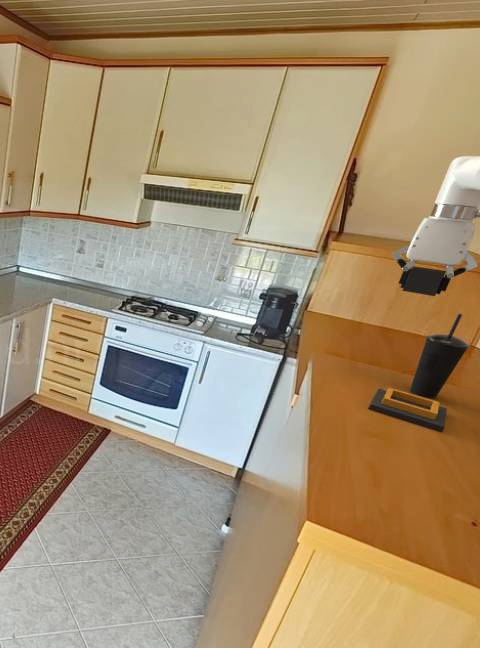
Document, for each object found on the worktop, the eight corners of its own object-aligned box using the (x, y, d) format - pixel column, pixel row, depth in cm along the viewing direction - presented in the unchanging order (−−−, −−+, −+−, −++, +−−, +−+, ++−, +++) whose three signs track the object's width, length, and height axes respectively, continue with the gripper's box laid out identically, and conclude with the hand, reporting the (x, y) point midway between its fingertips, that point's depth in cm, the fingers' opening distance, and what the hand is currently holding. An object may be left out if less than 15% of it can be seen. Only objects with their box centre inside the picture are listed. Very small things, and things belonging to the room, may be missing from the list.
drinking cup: (450, 404, 112) (491, 321, 105) (410, 396, 115) (448, 315, 108) (434, 391, 119) (472, 313, 112) (396, 384, 122) (431, 307, 114)
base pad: (441, 432, 97) (447, 420, 96) (368, 408, 105) (373, 397, 104) (444, 413, 107) (449, 402, 106) (376, 393, 115) (381, 382, 114)
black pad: (434, 296, 114) (444, 272, 112) (402, 290, 118) (411, 267, 116) (436, 293, 119) (446, 271, 117) (404, 288, 123) (413, 266, 121)
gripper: (504, 219, 109) (468, 297, 115) (405, 210, 120) (378, 281, 127) (505, 218, 104) (468, 300, 110) (402, 209, 115) (373, 284, 121)
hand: (420, 289), depth 118 cm, fingers closed on black pad, 6 cm apart
